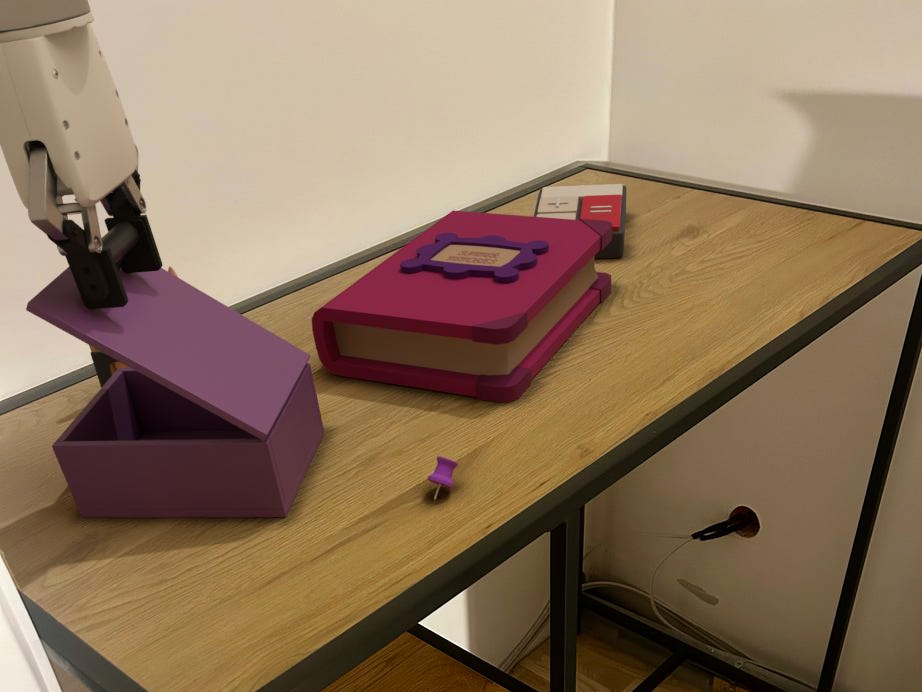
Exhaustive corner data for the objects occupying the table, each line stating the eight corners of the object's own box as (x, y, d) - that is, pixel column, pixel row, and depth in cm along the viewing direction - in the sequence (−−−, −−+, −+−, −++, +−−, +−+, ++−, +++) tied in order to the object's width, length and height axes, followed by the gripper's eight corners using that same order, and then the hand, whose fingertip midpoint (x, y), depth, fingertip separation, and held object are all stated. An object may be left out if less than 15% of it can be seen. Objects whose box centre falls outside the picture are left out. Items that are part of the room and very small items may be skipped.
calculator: (528, 229, 111) (539, 182, 121) (530, 266, 114) (540, 216, 124) (624, 226, 109) (626, 178, 119) (623, 263, 112) (625, 213, 122)
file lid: (25, 310, 66) (40, 253, 63) (102, 241, 76) (119, 189, 73) (264, 441, 71) (288, 394, 68) (307, 361, 81) (330, 317, 78)
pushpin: (423, 497, 76) (419, 464, 74) (444, 479, 78) (440, 446, 76) (445, 503, 76) (441, 470, 74) (465, 485, 77) (462, 452, 75)
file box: (81, 517, 78) (50, 445, 74) (142, 435, 88) (118, 367, 84) (285, 517, 76) (266, 443, 71) (324, 432, 86) (310, 362, 81)
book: (320, 374, 95) (305, 299, 90) (447, 270, 113) (440, 202, 108) (513, 404, 87) (508, 324, 82) (616, 287, 105) (617, 215, 100)
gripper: (33, -11, 67) (124, 250, 78) (-107, 37, 54) (27, 340, 66) (133, -24, 66) (210, 243, 77) (14, 23, 53) (128, 334, 65)
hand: (125, 285), depth 71 cm, fingers closed on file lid, 6 cm apart
